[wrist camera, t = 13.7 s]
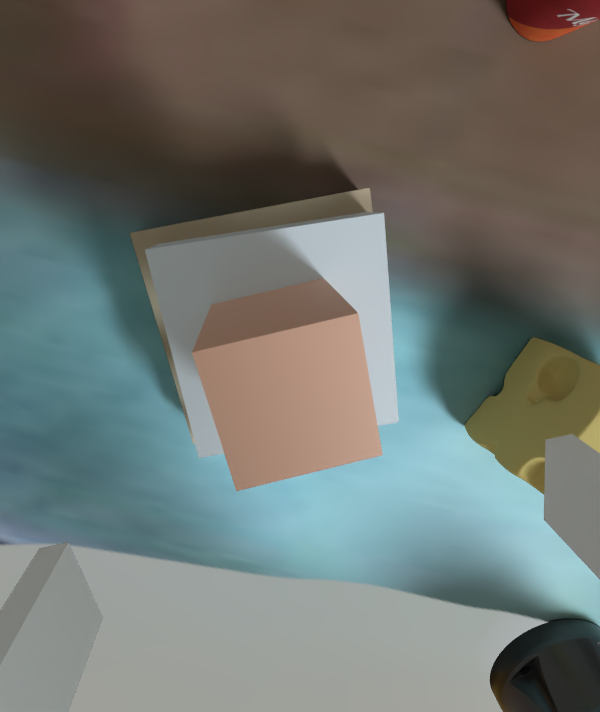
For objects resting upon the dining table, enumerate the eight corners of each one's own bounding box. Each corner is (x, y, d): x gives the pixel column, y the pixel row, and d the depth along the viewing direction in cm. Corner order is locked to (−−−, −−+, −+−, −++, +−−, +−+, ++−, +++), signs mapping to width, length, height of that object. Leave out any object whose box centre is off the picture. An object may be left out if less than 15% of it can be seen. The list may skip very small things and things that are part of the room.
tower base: (379, 382, 38) (393, 401, 34) (199, 419, 37) (193, 443, 33) (356, 189, 32) (369, 187, 29) (144, 229, 32) (129, 233, 28)
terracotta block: (343, 381, 29) (382, 455, 20) (241, 405, 28) (236, 491, 20) (323, 278, 26) (358, 313, 18) (211, 304, 26) (192, 352, 18)
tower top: (382, 397, 34) (398, 421, 30) (204, 429, 33) (198, 457, 29) (366, 211, 29) (383, 212, 25) (158, 243, 28) (144, 249, 25)
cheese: (459, 426, 39) (524, 496, 30) (533, 326, 37) (629, 368, 28) (541, 469, 42) (623, 545, 33) (615, 379, 40) (728, 433, 30)
